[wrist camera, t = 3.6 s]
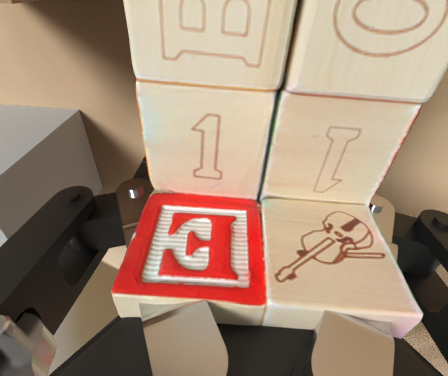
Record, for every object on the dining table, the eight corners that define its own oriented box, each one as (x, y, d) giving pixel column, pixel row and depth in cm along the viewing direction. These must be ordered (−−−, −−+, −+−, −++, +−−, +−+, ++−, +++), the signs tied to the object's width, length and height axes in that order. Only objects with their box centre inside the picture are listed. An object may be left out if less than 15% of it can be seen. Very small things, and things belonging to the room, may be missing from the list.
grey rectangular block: (79, 109, 16) (-23, 194, 10) (102, 187, 20) (39, 285, 14) (-20, 102, 16) (-183, 183, 10) (22, 182, 20) (-78, 277, 14)
